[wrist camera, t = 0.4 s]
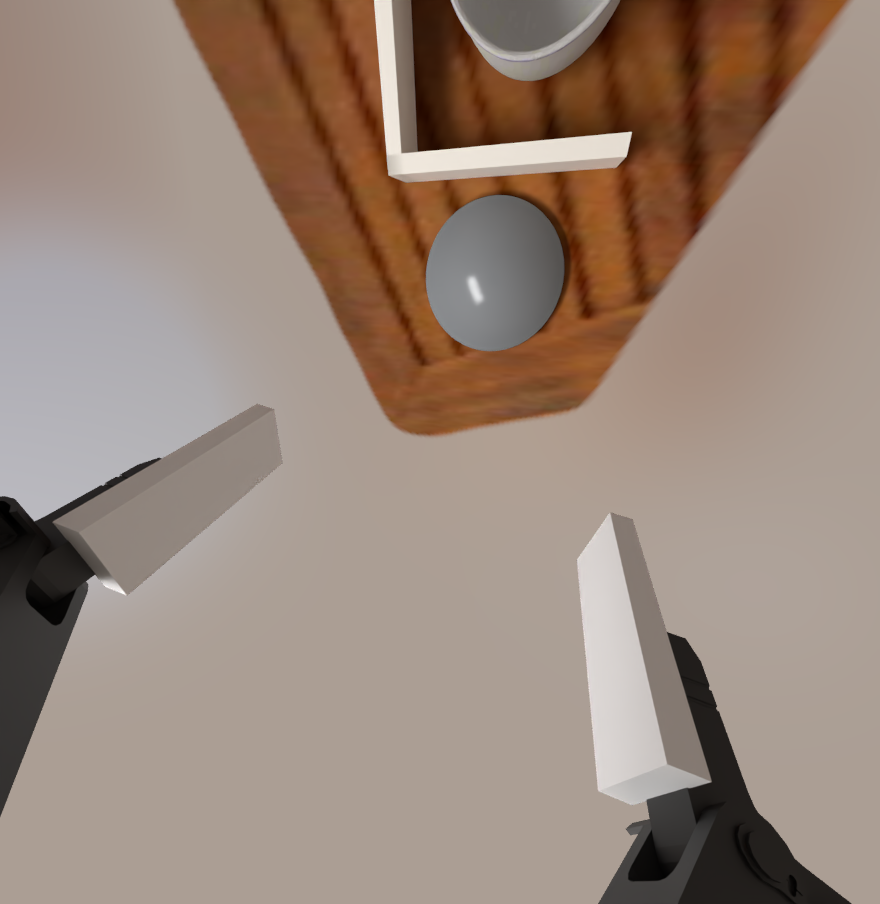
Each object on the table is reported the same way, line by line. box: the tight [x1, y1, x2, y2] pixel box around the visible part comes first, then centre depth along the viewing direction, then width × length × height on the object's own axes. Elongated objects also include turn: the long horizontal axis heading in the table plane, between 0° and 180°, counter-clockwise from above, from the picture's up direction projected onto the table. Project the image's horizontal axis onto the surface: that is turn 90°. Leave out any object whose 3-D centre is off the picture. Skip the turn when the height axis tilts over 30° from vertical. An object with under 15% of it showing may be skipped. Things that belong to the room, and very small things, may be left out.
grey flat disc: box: [426, 195, 564, 351], centre depth 31 cm, size 13×13×1 cm
